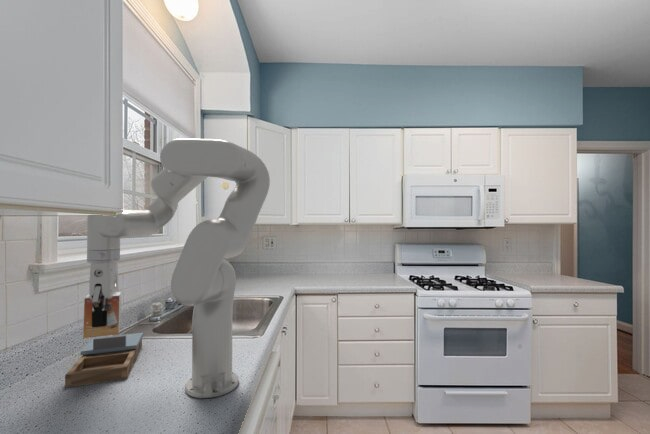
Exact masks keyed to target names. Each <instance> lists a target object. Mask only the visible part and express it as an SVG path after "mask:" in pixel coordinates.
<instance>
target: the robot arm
mask: <svg viewBox="0 0 650 434" xmlns="http://www.w3.org/2000/svg"><path fill="white" fill-rule="evenodd" d="M159 159H160V161H159V162H160V163H161V166H162V167H163V169H161V170H160V171H159V172H158V173H157V174H156V175H155V176H154V177H152V179H151V181H150V185H151V188H152V191H153V192H154V194H155V195H156V199H155V200H154V201H153V202H152V203H151V204H150V205H149V206H148V207H146V208H145V209H142V210H141V209H122V210H123V212H122V213H120V214H118V215H116V216H103V215H87V217H86V218H87V225H86V226H87V227H86V229H87V231H86V233H87V234H86V235H87V236H86V263H88V264H90V268H89V269H90V270H89V285H88V286H89V290H88V291H89V292H88V293H89V297H90V299H91V300H92V303H93V307H92V327H102V326H106V325H107V310H106V301H107V298H108V299H109V300H110V299H112V298H113V296H114V295H115V294H116V293H117V292H120V290H119V267H118V262H120V261H121V239H132V238H146V237H149V236H152V235H154V234H156V233H157V232H158V231H160V230H161V229H162V228H163V227H165V226H166V225H167V224H169V222H170V221H172V219H173V217H174V216H175V214H176V212H177V209H178V207H179V206H178V205H179V202H181V200H182V199H184V198H185V197H186V196H188V194H189V193H191V192H192V191H193V190H195V188H197V187H198V186H199V185H200V184H201V183H203V182H204V181H205V180H206V178H209V177H210V178H217V179H223V180H228V181H231V182H234V183H235V184H236V185H235V187H234V188H233V190H232V191H231V193H230V194H229V195H228V197H227V198H226V200H225V202H224V206H223V208H222V209H221V212H220V214H219V216H218V218H213V219H212V218H211V219H206V220H203V221H202V222H200V223H198V224H196V226H194V228H193V229H192V230H191V231H190V232H189V234H188V236H187V238H186V240H185V243H184V245H183V248H182V250H181V252H180V255H179V258H178V260H177V263H176V266H175V268H174V270H173V273H172V276H171V280H170V291H171V295H172V296H173V298H174V299H175V301H177V302H178V303H179V304H180V305H182V306H186V307H187V306H189V307H191V306H193V312H192V323H191V324H192V327H191V329H192V331H191V332H192V335H191V343H192V345H191V353H192V354H191V368H192V369H191V378H189V379H188V380H187V381H186V383H185V386H184V387H185V389H184V390H185V392H186V394H187V395H189V396H191V397H193V398H198V399H211V398H215V397H220V396H224V395H226V394H228V393H230V392H232V391H233V390H235V388H236V387H238V385H239V376H238V374H237V373H235V372H234V371H233V319H234V318H233V314H234V313H233V309H234V297H235V291H236V286H237V285H236V284H237V282H236V281H237V276H236V271H235V269H234V266H233V265H232V264H231V263H230V262H229V261H228V260H226V259H231V258H235V257H238V256H239V255H241V254H242V253H243V251H244V250H245V249H246V247H247V244H248V242H249V239H250V236H251V235H252V232H253V229H254V228H255V225H256V222H257V219H258V218H259V214H260V212H261V209H262V208H263V205H264V203H265V201H266V198H267V195H268V193H269V190H270V189H269V188H270V183H271V180H270V174H269V173H270V172H269V170H268V169H267V166H266V164H265V163H264V162H263V160H262V159H261V158H260V157H259V156H258V155H257V154H255V153H254V152H252V151H250V150H248V149H246V148H245V147H243V146H240V145H238V144H235V143H234V142H230V141H228V140H223V139H215V138H214V139H213V138H191V137H189V138H188V137H187V138H186V137H185V138H181V137H179V138H174V139H171V140H170V141H168V142H167V143H166V144H164V146H163V148H162V149H161V150H160V154H159ZM92 297H93V298H92ZM100 297H104V299H100ZM101 302H103V306H102V303H101Z"/></svg>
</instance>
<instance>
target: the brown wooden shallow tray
mask: <svg viewBox="0 0 650 434" xmlns="http://www.w3.org/2000/svg"><path fill="white" fill-rule="evenodd" d="M142 348H143V338H142V339H141V341H140V343H139V345H138V347H137V349H128V350H120V351H111V352H103V353H94V354H85V355H80V358H79V359H77V361H76V362H75V363H74V364H73V365H72V366H71V368H70V369H68V371H67V372H66V373H65V374H64V380H65V381H64V388H72V387H78V386H85V385H92V384H93V385H94V384H99V383H107V382H116V381H121V380H127V379H128V378H129V375H130V374H131V371H132V369H133V367H134V365H135V362H136V360H137V358H138V356H139V354H140V352H141V349H142Z"/></svg>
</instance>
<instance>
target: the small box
mask: <svg viewBox="0 0 650 434" xmlns="http://www.w3.org/2000/svg"><path fill="white" fill-rule="evenodd" d="M92 298H93V297H92ZM100 299H104V297H100ZM83 300H84V301H83V302H84V303H83V328H82V329H83V330H82V339H89V338H95V337H105V336H115V335H120V334H119V333H120V330H121V315H122V314H121V310H122V309H121V307H122V292H121V291H118V292H117V293H116V294H115V295H114V296H113V298H112V299H110V300H109V299H108V298H107V301H106V310H107V325H106V326H102V327H92V307H93V303H92V300H91V299H90V297H89V294H87V295H86V296H85V297H84V299H83ZM101 303H102V306H103V302H101Z"/></svg>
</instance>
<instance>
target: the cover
mask: <svg viewBox="0 0 650 434" xmlns="http://www.w3.org/2000/svg"><path fill="white" fill-rule="evenodd" d="M143 337H144V332H137V333H135V332H134V333H127V334H125V333H124V334H118V335H108V336H98V337H92V338H91V339H90V340H89V342H88V343H87V344H86V345H85V346H84V347H83V348H82V350H81V351H80V356H82V355H85V354H94V353H103V352H111V351H120V350H128V349H137V347H138V345H139V343H140V341H141V339H142V340H143Z"/></svg>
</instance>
